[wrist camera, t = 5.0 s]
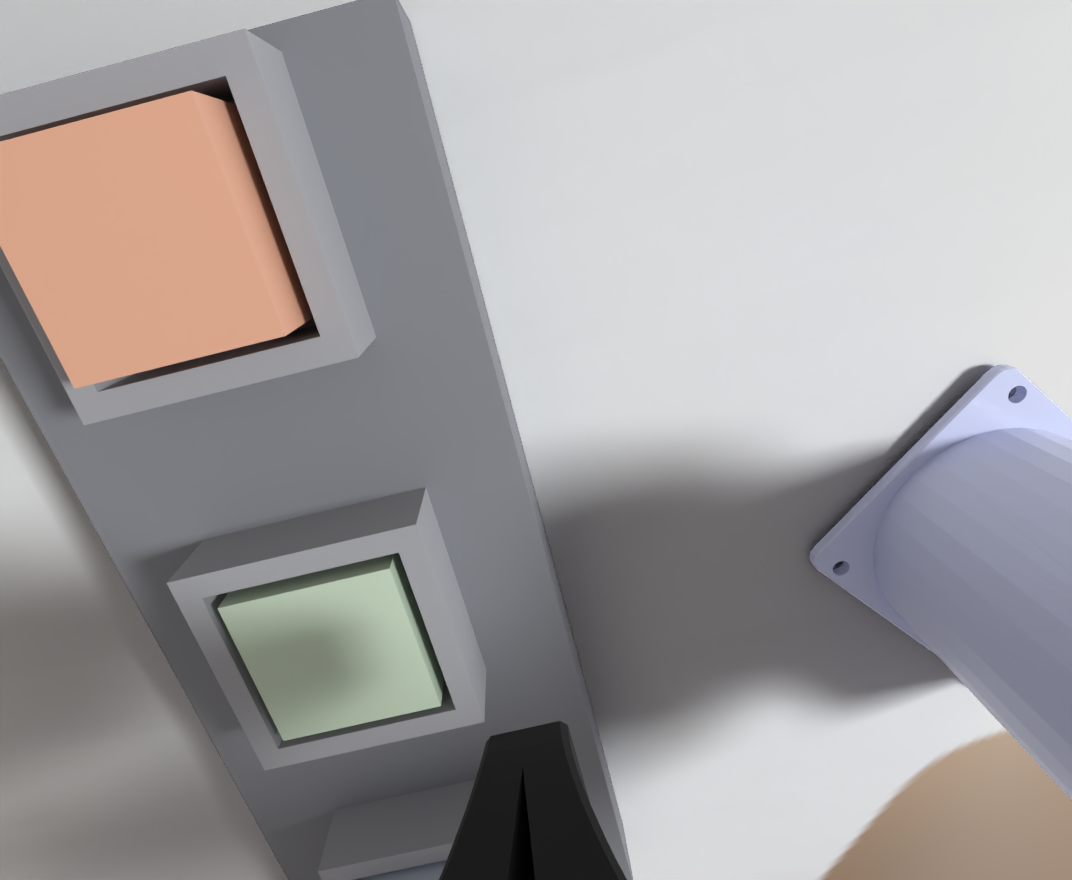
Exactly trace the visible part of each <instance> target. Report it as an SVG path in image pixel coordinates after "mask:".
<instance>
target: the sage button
mask: <svg viewBox="0 0 1072 880" xmlns="http://www.w3.org/2000/svg"><path fill="white" fill-rule="evenodd" d="M217 609H218V611H219V613H220V615H221V617H222V619H223V621H224V623H225V625H226V627H227V629H228V631H229V633H230V635H231V637H232V639H233V641H234V643H235V645H236V647H237V649H238V651H239V653H240V655H241V657H242V659H243V661H244V663H245V665H246V667H247V669H248V671H249V673H250V675H251V677H252V679H253V681H254V683H255V685H256V687H257V689H258V691H259V693H260V695H261V697H262V699H263V701H264V703H265V705H266V707H267V709H268V711H269V713H270V715H271V717H272V719H273V721H274V723H275V725H276V727H277V729H278V731H279V733H280V735H281V737H282V739H283V741H286V740H291V739H295V738H300V737H304V736H309V735H313V734H318V733H322V732H327V731H331V730H336V729H340V728H345V727H349V726H354V725H358V724H363V723H367V722H372V721H376V720H381V719H385V718H390V717H394V716H399V715H403V714H408V713H412V712H417V711H421V710H426V709H430V708H435V707H439V706H441V701H442V693H443V685H444V676H443V673H442V670H441V667H440V665H439V662H438V659H437V656H436V654H435V651H434V648H433V645H432V643H431V640H430V637H429V634H428V632H427V629H426V626H425V623H424V621H423V618H422V615H421V612H420V610H419V607H418V604H417V601H416V599H415V596H414V593H413V590H412V588H411V585H410V582H409V579H408V577H407V574H406V571H405V568H404V566H403V563H402V560H401V557H400V555H399V553H395V554H390V555H386V556H382V557H377V558H373V559H369V560H365V561H360V562H356V563H352V564H347V565H343V566H339V567H335V568H330V569H326V570H322V571H317V572H313V573H309V574H305V575H300V576H296V577H292V578H287V579H283V580H279V581H274V582H270V583H266V584H262V585H257V586H253V587H249V588H244V589H240V590H236V591H232V592H228V594H227V595H226V597H225V598H224V600H223V601H222V603H221V604H220V605H219V607H218V608H217Z"/></svg>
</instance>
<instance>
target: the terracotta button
mask: <svg viewBox="0 0 1072 880" xmlns="http://www.w3.org/2000/svg"><path fill="white" fill-rule="evenodd" d="M0 246H1V248H2V250H3V252H4V254H5V256H6V258H7V260H8V262H9V264H10V266H11V268H12V269H13V271H14V273H15V275H16V277H17V279H18V281H19V283H20V285H21V287H22V289H23V291H24V293H25V295H26V296H27V298H28V300H29V302H30V304H31V306H32V308H33V310H34V312H35V314H36V316H37V318H38V320H39V322H40V323H41V325H42V327H43V329H44V331H45V333H46V335H47V337H48V339H49V341H50V343H51V345H52V347H53V349H54V350H55V352H56V354H57V356H58V358H59V360H60V362H61V364H62V366H63V368H64V370H65V372H66V374H67V376H68V378H69V379H70V381H71V383H72V385H73V387H74V389H75V388H79V387H83V386H87V385H91V384H95V383H99V382H103V381H107V380H111V379H115V378H119V377H123V376H127V375H131V374H135V373H140V372H144V371H148V370H152V369H156V368H160V367H164V366H168V365H172V364H176V363H180V362H184V361H188V360H192V359H196V358H200V357H204V356H208V355H212V354H216V353H220V352H224V351H228V350H232V349H236V348H240V347H244V346H248V345H252V344H256V343H260V342H264V341H268V340H272V339H276V338H280V337H284V336H286V335H288V334H289V333H291V332H292V331H294V330H295V329H297V328H298V327H300V326H301V325H303V324H304V323H306V322H307V321H309V320H310V319H312V318H313V315H312V312H311V309H310V307H309V304H308V301H307V298H306V296H305V293H304V290H303V287H302V285H301V282H300V279H299V276H298V274H297V271H296V268H295V265H294V263H293V260H292V257H291V254H290V252H289V249H288V246H287V243H286V241H285V238H284V235H283V232H282V230H281V227H280V224H279V221H278V219H277V216H276V213H275V210H274V208H273V205H272V202H271V199H270V197H269V194H268V191H267V188H266V185H265V183H264V180H263V177H262V174H261V172H260V169H259V166H258V163H257V161H256V158H255V155H254V152H253V150H252V147H251V144H250V141H249V139H248V136H247V133H246V130H245V128H244V125H243V122H242V119H241V117H240V114H239V111H238V108H237V106H236V105H235V104H232V103H229V102H226V101H223V100H220V99H217V98H214V97H210V96H207V95H204V94H201V93H198V92H195V91H192V90H191V91H188V92H184V93H180V94H176V95H173V96H169V97H165V98H161V99H158V100H154V101H150V102H146V103H143V104H139V105H135V106H132V107H128V108H124V109H120V110H117V111H113V112H109V113H105V114H102V115H98V116H94V117H90V118H87V119H83V120H79V121H76V122H72V123H68V124H64V125H61V126H57V127H53V128H49V129H46V130H42V131H38V132H34V133H31V134H27V135H23V136H20V137H16V138H12V139H8V140H5V141H1V142H0Z"/></svg>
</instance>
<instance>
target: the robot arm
mask: <svg viewBox="0 0 1072 880" xmlns="http://www.w3.org/2000/svg"><path fill="white" fill-rule="evenodd" d="M1014 387H1017V388H1016V392H1015V394H1014V395H1013V396H1012V397H1011V398H1009V399H1008V395H1009V392H1010V391H1011V389H1013V388H1014ZM809 557H810V562H811V563H812V564H813V566H814V567H815V568H816V569H817V570H818V571H819V572H820V573H822V574H823V575H825V576H826V577H827V578H829V579H830V580H832V581H833V582H834V583H836V584H837V585H839V586H840V587H841V588H843V589H844V590H846V591H847V592H848V593H850V594H851V595H853V596H854V597H855V598H857V599H858V600H860V601H861V602H863V603H864V604H865V605H867V606H868V607H870V608H871V609H872V610H874V611H875V612H877V613H878V614H879V615H881V616H882V617H884V618H885V619H886V620H888V621H889V622H891V623H892V624H893V625H895V626H896V627H898V628H899V629H900V630H902V631H903V632H905V633H906V634H907V635H909V636H910V637H912V638H913V639H915V640H916V641H917V642H919V643H920V644H922V645H923V646H924V647H926V648H927V649H929V650H930V651H931V652H933V653H934V654H936V655H937V656H938V657H939V658H940V659H941V660H942V661H943V662H944V663H945V664H946V665H947V667H948V668H949V669H950V670H951V671H952V672H953V673H954V674H955V675H956V676H957V677H958V678H959V679H960V681H961V682H962V683H963V684H964V685H965V686H966V687H967V688H968V689H969V690H970V691H971V692H972V693H973V695H974V696H975V697H976V698H977V699H978V700H979V701H980V702H981V703H982V704H983V705H984V706H985V707H986V709H987V710H988V711H989V712H990V713H991V714H992V715H993V716H994V717H995V718H996V719H997V720H998V721H999V722H1000V724H1001V725H1002V726H1003V727H1004V728H1005V729H1006V730H1007V731H1008V732H1009V733H1010V734H1011V735H1012V736H1013V738H1014V739H1015V740H1016V741H1017V742H1018V743H1019V744H1020V745H1021V746H1022V747H1023V748H1024V749H1025V750H1026V752H1027V753H1029V755H1030V756H1031V757H1032V758H1033V759H1034V760H1035V761H1036V762H1037V763H1038V764H1039V765H1040V767H1041V768H1042V769H1043V770H1044V771H1045V772H1046V773H1047V774H1048V775H1049V776H1050V777H1051V778H1052V779H1053V781H1054V782H1055V783H1056V784H1057V785H1058V786H1059V787H1060V788H1061V789H1062V790H1063V791H1064V792H1065V793H1066V795H1067V796H1068V797H1069V798H1070V799H1071V800H1072V418H1070V417H1069V416H1068V415H1067V414H1066V413H1065V412H1064V411H1063V410H1062V409H1061V408H1060V407H1059V406H1057V405H1056V404H1055V403H1054V402H1053V401H1052V400H1051V399H1050V398H1049V397H1048V396H1047V395H1046V394H1044V393H1043V392H1042V391H1041V390H1040V389H1039V388H1038V387H1037V386H1036V385H1035V384H1034V383H1032V382H1031V381H1030V380H1029V379H1028V378H1027V377H1026V376H1025V375H1024V374H1023V373H1022V372H1021V371H1019V370H1018V369H1016V368H1014V367H1011V366H1008V365H997V366H994V367H992V368H991V369H989V370H988V371H987V372H986V373H985V374H984V375H983V376H982V377H981V378H980V379H979V380H978V381H977V382H976V383H975V384H974V385H973V386H972V387H971V388H970V389H969V390H968V391H967V392H966V393H965V394H964V395H963V396H962V397H961V398H960V399H959V400H958V401H957V402H956V403H955V404H954V405H953V406H952V407H951V408H950V409H949V410H948V411H947V412H946V413H945V414H944V415H943V416H942V417H941V418H940V419H939V420H938V421H937V422H936V424H935V425H934V426H933V427H932V428H931V429H930V430H929V431H928V432H927V433H926V434H925V435H924V436H923V437H922V438H921V439H920V440H919V441H918V442H917V443H916V444H915V445H914V446H913V447H912V448H911V449H910V450H909V451H908V452H907V453H906V454H905V455H904V456H903V457H902V458H901V459H900V460H899V461H898V462H897V463H896V464H895V465H894V466H893V467H892V468H891V469H890V470H889V471H888V472H887V473H886V474H885V475H884V476H883V477H882V478H881V479H880V480H879V481H878V482H877V483H876V484H875V485H874V486H873V487H872V488H871V489H870V490H869V491H868V492H867V493H866V494H865V495H864V496H863V498H862V499H861V500H860V501H859V502H858V503H857V504H856V505H855V506H854V507H853V508H852V509H851V510H850V511H849V512H848V513H847V514H846V515H845V516H844V517H843V518H842V519H841V520H840V521H839V522H838V523H837V524H836V525H835V526H834V527H833V528H832V529H831V530H830V531H829V532H828V533H827V534H826V535H825V536H824V537H823V538H822V539H821V540H820V541H819V542H818V543H817V544H816V545H815V546H814V547H813V549H812V550H811V552H810V556H809ZM840 561H843V564H842V565H841V566H840V567H838V568H836V569H833V567H834V565H835V564H836V563H838V562H840ZM439 880H627V879H626V877H625V875H624V873H623V871H622V869H621V867H620V866H619V864H618V862H617V860H616V858H615V856H614V854H613V852H612V850H611V848H610V846H609V844H608V842H607V840H606V838H605V835H604V833H603V831H602V829H601V827H600V824H599V822H598V820H597V818H596V815H595V813H594V811H593V809H592V807H591V804H590V801H589V797H588V794H587V790H586V787H585V783H584V780H583V776H582V773H581V769H580V766H579V762H578V759H577V755H576V752H575V748H574V745H573V741H572V738H571V734H570V731H569V727H568V725H567V724H565V723H563V722H561V721H557V722H552V723H547V724H543V725H538V726H534V727H529V728H525V729H520V730H516V731H511V732H506V733H502V734H497V735H493V736H490V738H489V739H488V740H487V742H486V744H485V748H484V752H483V756H482V759H481V763H480V766H479V770H478V773H477V776H476V779H475V783H474V786H473V789H472V792H471V795H470V798H469V801H468V804H467V807H466V810H465V813H464V816H463V818H462V821H461V824H460V826H459V829H458V832H457V834H456V837H455V840H454V842H453V845H452V848H451V850H450V853H449V856H448V858H447V861H446V863H445V866H444V868H443V871H442V873H441V876H440V878H439Z"/></svg>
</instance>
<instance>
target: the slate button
mask: <svg viewBox="0 0 1072 880" xmlns="http://www.w3.org/2000/svg"><path fill="white" fill-rule="evenodd" d="M446 861H447V860H444V861H439V862H434V863H429V864H425V865H420V866H415V867H411V868H406V869H401V870H396V871H392V872H387V873H382V874H377V875H373V876H368V877H363V878H360V880H439V878H440V876H441V873H442V871H443V868H444V866H445V863H446Z"/></svg>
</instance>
